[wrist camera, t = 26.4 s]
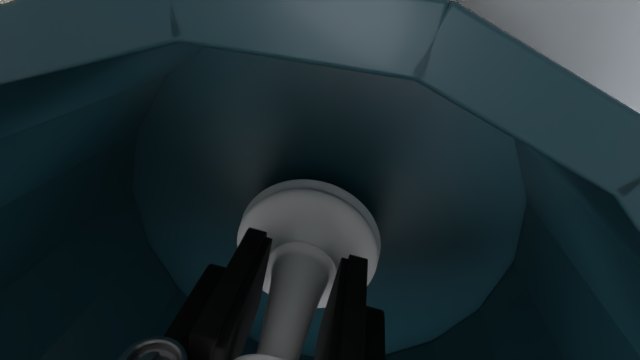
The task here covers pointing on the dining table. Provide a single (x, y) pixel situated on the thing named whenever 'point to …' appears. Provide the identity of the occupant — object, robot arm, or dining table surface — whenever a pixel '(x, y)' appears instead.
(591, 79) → the dining table surface
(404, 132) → the tin
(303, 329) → the chess piece
